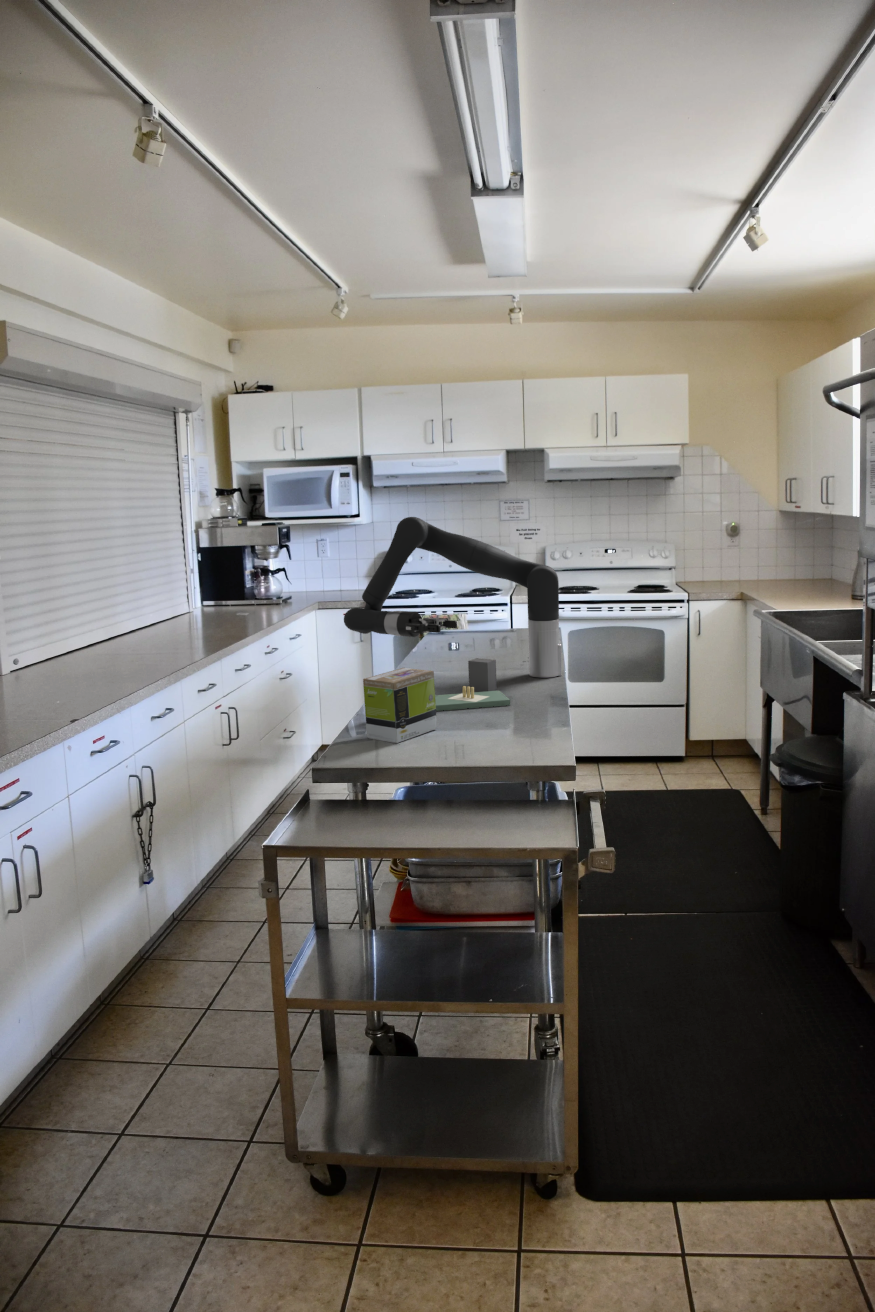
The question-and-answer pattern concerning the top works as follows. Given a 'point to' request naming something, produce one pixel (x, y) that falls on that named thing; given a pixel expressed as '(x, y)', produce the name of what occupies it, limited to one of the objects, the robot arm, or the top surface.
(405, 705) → the tea box
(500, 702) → the board
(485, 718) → the top surface
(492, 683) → the dark grey rectangular block
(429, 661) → the top surface
